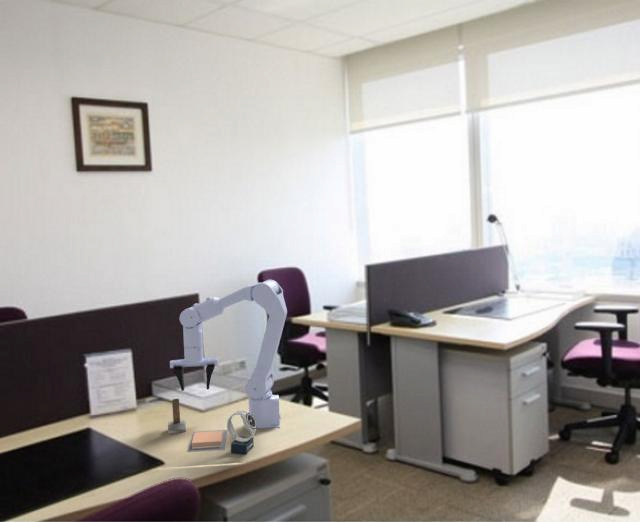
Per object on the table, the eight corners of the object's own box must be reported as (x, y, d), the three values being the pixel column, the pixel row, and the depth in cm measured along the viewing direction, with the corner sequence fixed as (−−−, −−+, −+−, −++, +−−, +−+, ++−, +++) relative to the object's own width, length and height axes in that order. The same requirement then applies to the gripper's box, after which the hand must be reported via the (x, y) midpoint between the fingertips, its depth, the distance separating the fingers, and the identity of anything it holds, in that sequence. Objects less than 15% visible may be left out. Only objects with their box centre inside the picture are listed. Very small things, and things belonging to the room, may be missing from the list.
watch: (253, 456, 163) (251, 416, 162) (225, 454, 165) (223, 414, 164) (260, 448, 168) (259, 409, 167) (233, 446, 170) (231, 408, 169)
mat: (227, 431, 182) (227, 429, 182) (224, 451, 167) (224, 449, 167) (193, 433, 181) (193, 431, 181) (187, 453, 166) (187, 451, 166)
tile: (222, 430, 177) (221, 441, 169) (223, 436, 177) (221, 446, 169) (194, 432, 176) (191, 443, 168) (195, 437, 176) (192, 448, 168)
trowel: (185, 429, 184) (184, 397, 183) (185, 433, 181) (184, 400, 180) (168, 431, 183) (167, 398, 182) (168, 435, 180) (166, 402, 179)
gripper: (218, 342, 193) (220, 384, 194) (171, 344, 192) (173, 386, 193) (216, 347, 186) (218, 390, 187) (168, 349, 185) (170, 393, 186)
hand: (195, 389), depth 190 cm, fingers open, 7 cm apart
